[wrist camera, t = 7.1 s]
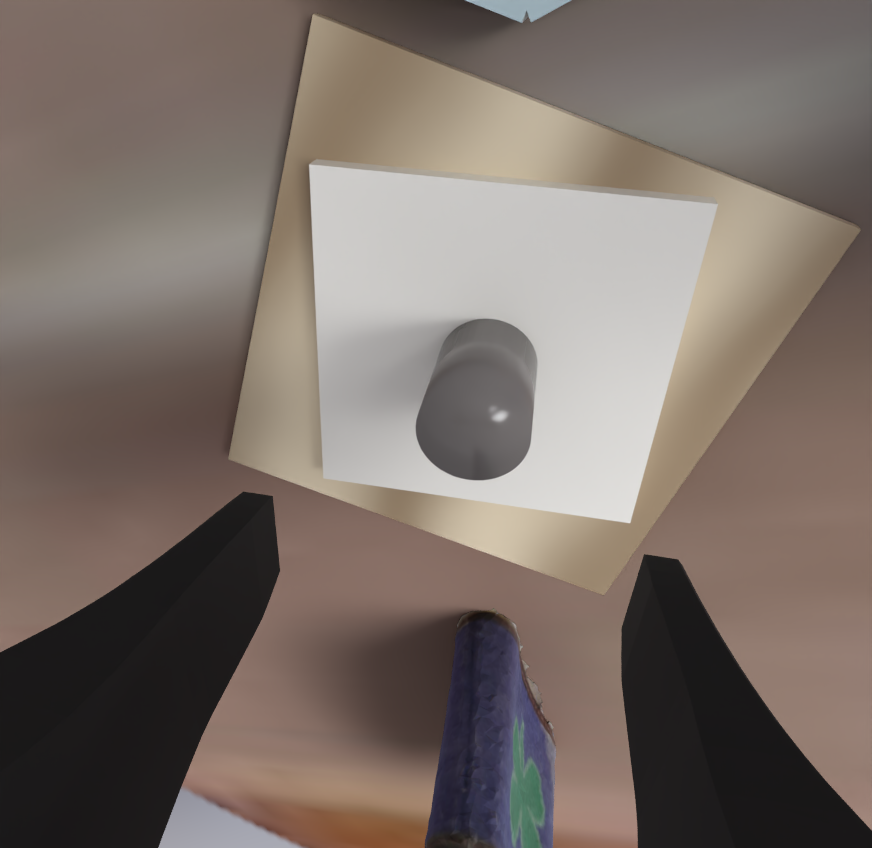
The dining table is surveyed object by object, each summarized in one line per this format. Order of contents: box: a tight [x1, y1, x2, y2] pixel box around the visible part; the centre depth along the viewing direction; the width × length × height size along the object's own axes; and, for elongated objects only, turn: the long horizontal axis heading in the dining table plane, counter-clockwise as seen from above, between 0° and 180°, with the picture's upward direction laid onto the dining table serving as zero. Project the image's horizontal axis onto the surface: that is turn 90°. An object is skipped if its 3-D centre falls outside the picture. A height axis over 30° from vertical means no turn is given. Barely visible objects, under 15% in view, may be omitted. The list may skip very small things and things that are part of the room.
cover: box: [309, 159, 718, 523], centre depth 18 cm, size 10×10×4 cm
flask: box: [425, 608, 556, 848], centre depth 24 cm, size 9×3×11 cm, turn 17°
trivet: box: [228, 13, 861, 595], centre depth 21 cm, size 14×14×1 cm
